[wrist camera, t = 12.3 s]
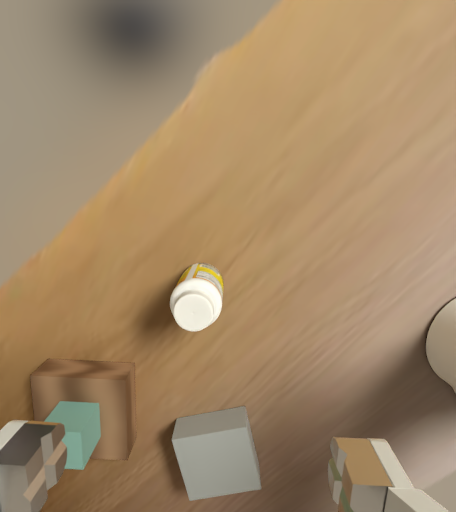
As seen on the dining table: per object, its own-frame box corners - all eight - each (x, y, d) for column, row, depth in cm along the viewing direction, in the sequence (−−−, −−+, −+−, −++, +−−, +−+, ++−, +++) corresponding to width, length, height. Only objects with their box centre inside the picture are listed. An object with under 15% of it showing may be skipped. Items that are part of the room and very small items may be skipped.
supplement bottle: (185, 306, 42) (171, 343, 32) (177, 265, 41) (158, 291, 31) (227, 299, 42) (225, 334, 32) (219, 258, 41) (215, 281, 31)
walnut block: (134, 362, 44) (125, 380, 40) (136, 437, 46) (127, 460, 43) (48, 358, 44) (30, 375, 40) (54, 433, 47) (38, 455, 43)
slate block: (245, 405, 45) (246, 426, 41) (258, 463, 47) (261, 489, 43) (176, 418, 46) (171, 440, 42) (193, 475, 48) (189, 500, 44)
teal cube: (99, 403, 41) (81, 432, 36) (100, 436, 42) (83, 469, 37) (60, 401, 41) (36, 430, 36) (62, 434, 42) (40, 467, 37)
